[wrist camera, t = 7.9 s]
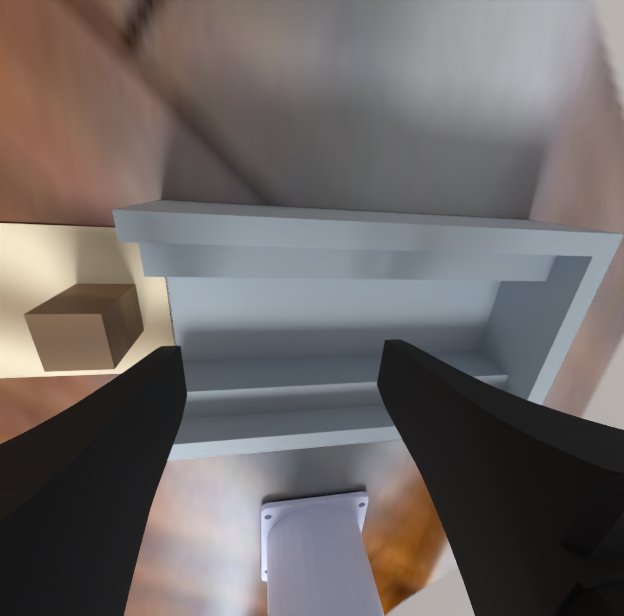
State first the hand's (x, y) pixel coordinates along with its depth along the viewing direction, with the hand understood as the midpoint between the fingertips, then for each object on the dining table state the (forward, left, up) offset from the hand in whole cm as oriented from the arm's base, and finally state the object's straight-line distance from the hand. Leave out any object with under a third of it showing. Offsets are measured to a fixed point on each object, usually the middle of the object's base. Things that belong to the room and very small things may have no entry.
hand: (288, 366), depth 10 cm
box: (0, -4, -5) cm, 6 cm away
